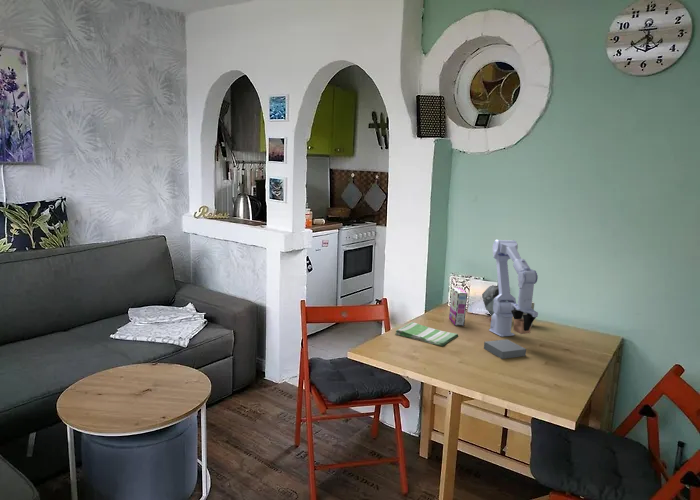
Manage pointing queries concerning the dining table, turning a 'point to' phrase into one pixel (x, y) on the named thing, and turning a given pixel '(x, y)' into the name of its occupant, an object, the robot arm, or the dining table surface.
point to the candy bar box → (458, 306)
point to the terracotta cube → (520, 326)
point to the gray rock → (490, 298)
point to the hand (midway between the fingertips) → (521, 328)
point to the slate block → (504, 348)
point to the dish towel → (426, 334)
